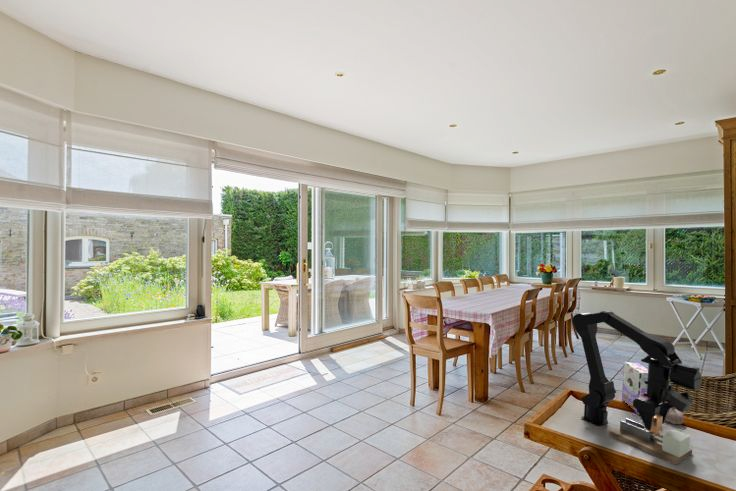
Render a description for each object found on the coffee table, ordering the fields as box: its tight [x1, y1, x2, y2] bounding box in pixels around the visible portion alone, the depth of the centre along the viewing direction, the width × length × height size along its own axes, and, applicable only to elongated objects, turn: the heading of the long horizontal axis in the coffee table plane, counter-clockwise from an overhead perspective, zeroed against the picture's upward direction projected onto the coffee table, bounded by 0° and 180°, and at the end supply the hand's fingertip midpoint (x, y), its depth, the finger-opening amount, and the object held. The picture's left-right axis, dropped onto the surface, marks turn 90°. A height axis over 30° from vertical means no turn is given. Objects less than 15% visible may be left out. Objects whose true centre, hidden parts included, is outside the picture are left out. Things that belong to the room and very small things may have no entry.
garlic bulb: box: [665, 407, 685, 425], centre depth 144 cm, size 8×7×8 cm
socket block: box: [662, 428, 691, 457], centre depth 121 cm, size 4×7×5 cm, turn 121°
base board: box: [608, 425, 693, 465], centre depth 127 cm, size 19×12×2 cm, turn 31°
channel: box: [619, 417, 654, 442], centre depth 130 cm, size 9×4×3 cm, turn 31°
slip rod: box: [643, 414, 663, 443], centre depth 124 cm, size 10×4×8 cm, turn 31°
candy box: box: [621, 361, 649, 415], centre depth 154 cm, size 14×6×16 cm, turn 168°
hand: (655, 426), depth 126 cm, fingers open, 9 cm apart
